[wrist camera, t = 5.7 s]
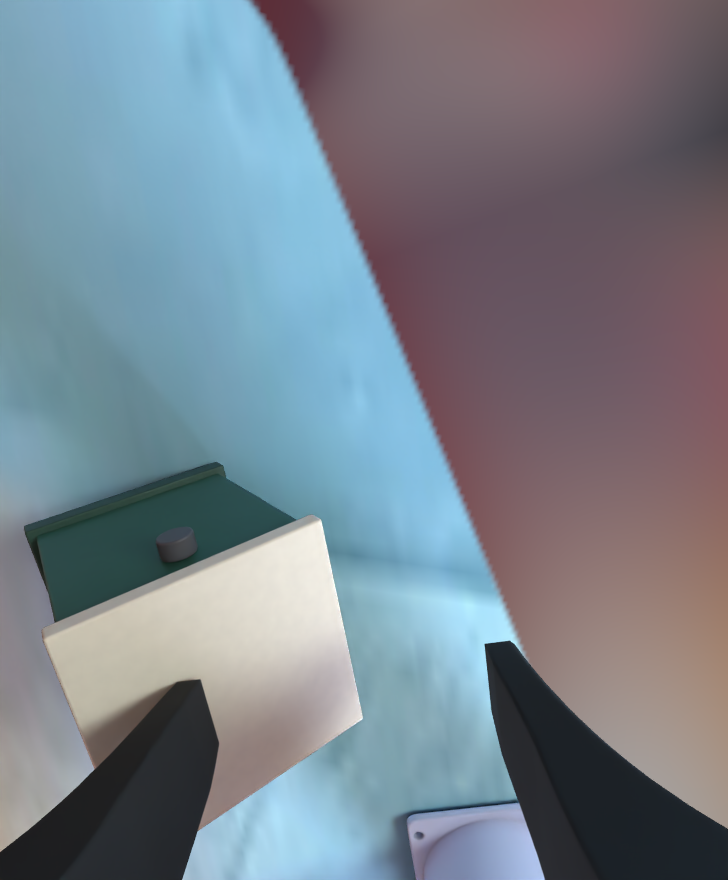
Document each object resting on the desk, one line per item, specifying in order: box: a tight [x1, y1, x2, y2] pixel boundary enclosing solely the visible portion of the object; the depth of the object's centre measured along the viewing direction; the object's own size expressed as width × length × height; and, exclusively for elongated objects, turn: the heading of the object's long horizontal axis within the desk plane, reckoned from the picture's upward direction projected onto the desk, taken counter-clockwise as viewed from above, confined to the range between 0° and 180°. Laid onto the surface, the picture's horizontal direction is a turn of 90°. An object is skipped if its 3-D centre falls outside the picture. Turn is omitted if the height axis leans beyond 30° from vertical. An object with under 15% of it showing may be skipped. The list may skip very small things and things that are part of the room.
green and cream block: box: [24, 462, 363, 831], centre depth 18 cm, size 9×8×7 cm
